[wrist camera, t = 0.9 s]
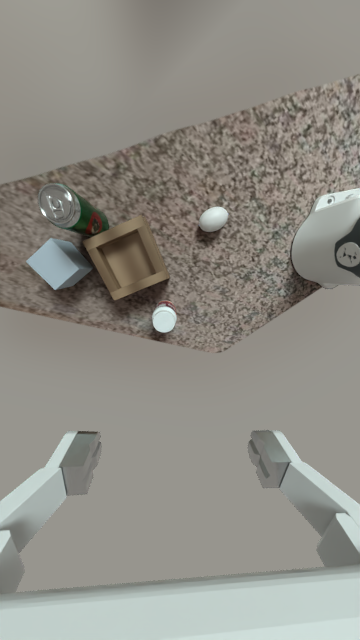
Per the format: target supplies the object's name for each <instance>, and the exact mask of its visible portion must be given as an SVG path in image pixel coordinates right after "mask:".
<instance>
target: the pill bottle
mask: <svg viewBox="0 0 360 640" xmlns="http://www.w3.org/2000/svg"><path fill="white" fill-rule="evenodd" d="M176 319H177V317H176V308H175V306H174V304H173V303H171V302H170V301H161V302H159V303H158V304H157V305H156V307H155V309H154V312H153V314H152V321H153V325H154V327H155V329H156V330H157V331H159V332H163V333H165V332H169V331H171V330H172V329H173V327H174V325H175V323H176Z"/></svg>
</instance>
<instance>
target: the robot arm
mask: <svg viewBox="0 0 360 640" xmlns="http://www.w3.org/2000/svg"><path fill="white" fill-rule="evenodd" d="M327 201H329V203H328V202H327ZM292 262H293V265H294V268H295V270H296V271H297V273H298V274H299V275H300V276H302V277H303V278H305V279H307V280H310V281H314V282H317V283H319V284H320V285H321V286H322V287H323V288H325V289H333V288H335V287H336V286H338V285H355V286H360V188H357V189H352V190H348V191H343V192H338V193H333V194H328V195H323V196H320V197H318V198H317V199H316V201H315V202H314V204H313V207H312V209H311V212H310V215H309V216H308V218H307V219H306V220H305V221H304V223H303V224H302V225H301V227H300V228H299V230H298V232H297V234H296V236H295V238H294V241H293V245H292ZM100 437H101V436H100V432H88V431H87V432H86V431H68V432H67V433H66V434H65V435H64V437H63V438H62V440H61V442H60V443H59V445H58V447H57V448H56V450H55V452H54V453H53V455H52V456H51V458H50V460H49V461H48V463H47V465H46V466H45V468H41V469H39V470H38V471H37V472H36V473H34V474H33V475H32V476H31V477H30V478H28V479H27V480H26V481H25V482H24V483H22V484H21V485H20V486H18V487H17V488H16V489H15V490H14V491H13V492H11V493H10V494H9V495H7V496H6V497H5V498H4V499H3V500H1V501H0V640H360V505H359V504H358V503H357V502H355V501H354V500H353V499H352V498H350V497H349V496H348V495H346V494H345V493H344V492H343V491H341V490H340V489H339V488H337V487H336V486H335V485H334V484H332V483H331V482H330V481H328V480H327V479H326V478H325V477H323V476H322V475H321V474H319V473H318V472H317V471H316V470H314V469H313V468H311V467H310V466H309V465H308V464H307V463H305V462H302V461H301V460H300V458H299V457H298V455H297V454H296V452H295V451H294V449H293V448H292V446H291V445H290V444H289V442H288V441H287V439H286V438H285V436H284V435H283V434H282V432H281V431H269V430H266V431H252V433H251V438H252V439H251V440H250V441H249V443H248V453H249V456H250V459H251V462H252V463H253V464H254V465H255V466H256V467H257V469H256V473H257V476H258V478H259V480H260V483H261V485H262V487H263V488H280V490H281V492H282V493H283V494H284V495H285V496H286V497H287V498H288V499H289V501H290V502H291V503H292V504H293V505H294V506H295V507H296V508H297V510H298V511H299V512H300V513H301V514H302V515H303V516H304V517H305V519H306V520H307V521H308V522H309V523H310V524H311V525H312V526H313V528H315V530H316V531H317V532H318V533H319V534H320V535H321V537H322V538H321V540H320V541H319V543H318V545H317V552H318V554H319V556H320V558H321V560H322V562H323V564H324V566H325V567H316V568H305V569H292V570H280V571H269V572H256V573H243V574H231V575H220V576H207V577H196V578H183V579H171V580H158V581H146V582H135V583H122V584H110V585H98V586H87V587H73V588H61V589H49V590H38V591H25V592H16V590H17V587H18V585H19V583H20V581H21V578H22V576H23V574H24V565H23V563H22V560H21V558H20V555H19V553H20V552H21V551H22V549H23V548H24V547H25V546H26V545H27V543H28V542H29V541H30V540H31V539H32V538H33V536H34V535H35V534H36V533H37V532H38V530H39V529H40V528H41V527H42V526H43V524H44V523H45V522H46V521H47V520H48V519H49V517H50V516H51V515H52V514H53V513H54V512H55V510H56V509H57V508H58V507H59V506H60V504H61V503H62V502H63V501H64V500H65V499H66V497H67V495H83V494H87V493H88V490H89V487H90V484H91V481H92V479H93V469H94V468H95V467H96V466H97V464H98V461H99V458H100V454H101V442H99V439H100Z"/></svg>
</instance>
